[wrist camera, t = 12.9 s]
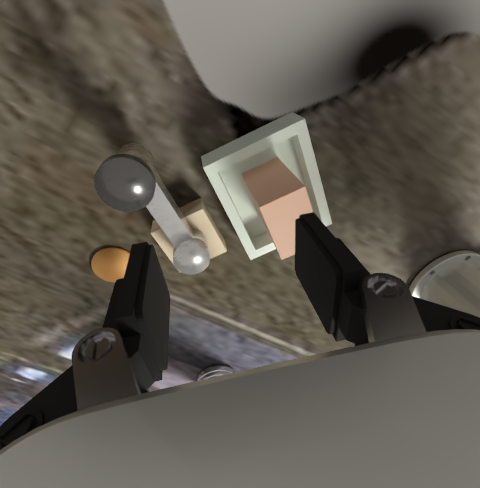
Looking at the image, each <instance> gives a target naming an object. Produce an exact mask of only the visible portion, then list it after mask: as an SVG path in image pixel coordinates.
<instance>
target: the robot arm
mask: <svg viewBox="0 0 480 488" xmlns="http://www.w3.org/2000/svg"><path fill="white" fill-rule="evenodd" d="M295 271H296V275H297V277H298V279H299V281H300V282H301V284H302V286H303V288H304V290H305V292H306V294H307V296H308V298H309V299H310V301H311V303H312V305H313V307H314V309H315V311H316V313H317V315H318V316H319V318H320V320H321V322H322V324H323V326H324V328H325V330H326V332H327V333H328V334H331V333H332V335H333V336H334V338H335V340H336V341H341V340H345V339H346V340H347V341H350V342H352V347H349V348H344V349H339V350H335V351H330V352H326V353H321V354H316V355H312V356H307V357H303V358H298V359H294V360H289V361H285V362H280V363H276V364H271V365H267V366H262V367H258V368H253V369H249V370H244V371H240V372H235V373H231V374H226V375H222V376H217V377H213V378H209V379H204V380H200V381H196V382H191V383H187V384H182V385H178V386H174V387H169V388H165V389H161V390H156V391H152V392H149V389H148V388H149V387H150V386H151V385H152V384H153V383H154V381H159V380H162V370H166V369H167V364H168V339H169V314H170V295H169V291H168V288H167V285H166V282H165V279H164V276H163V273H162V270H161V267H160V264H159V261H158V258H157V255H156V252H155V249H154V246H153V245H148V243H147V242H143V243H138V244H133V245H132V247H131V251H130V255H129V259H128V263H127V267H126V271H125V275H124V278H121V279H117V280H116V282H115V286H114V289H113V293H112V296H111V300H110V303H109V307H108V310H107V314H106V317H105V321H104V324H103V328H100V329H97V330H94V331H92V332H90V333H89V334H87V335H85V336H84V337H83V338H82V339H81V340H80V341H79V342H78V343H77V344H76V346H75V348H74V350H73V352H72V366H71V367H70V368H69V369H67V370H66V371H65V372H64V373H62V374H61V375H60V376H59V377H58V378H56V379H55V380H54V381H53V382H52V383H50V384H49V385H48V386H47V387H46V388H44V389H43V390H42V391H41V392H40V393H38V394H37V395H36V396H35V397H33V398H32V399H31V400H30V401H29V402H27V403H26V404H25V405H24V406H23V407H21V408H20V409H19V410H18V411H17V412H15V413H14V414H13V415H12V416H11V417H9V418H8V419H7V420H6V421H5V422H4V423H3V424H2V425H1V427H0V488H480V255H479V254H478V253H476V252H473V251H468V250H462V251H456V252H452V253H449V254H446V255H444V256H442V257H440V258H438V259H436V260H434V261H433V262H431V263H430V264H429V265H427V266H426V267H425V268H424V269H423V270H422V271H421V272H420V273H419V274H418V275H417V276H416V277H415V279H414V280H413V282H412V283H411V285H410V287H409V288H408V286H407V284H406V283H405V282H404V281H402V280H401V279H400V278H398V277H396V276H393V275H390V274H386V273H373V274H370V273H369V272H368V271H367V270H366V269H365V267H364V266H363V265H362V264H361V263H360V262H359V260H358V259H357V258H356V257H355V256H354V255H353V254H352V252H351V251H350V250H349V249H348V248H347V247H346V245H345V244H344V243H343V242H342V241H341V240H340V239H339V238H335V237H334V236H333V234H332V233H331V232H330V231H329V230H328V229H327V227H326V226H325V225H324V224H323V223H322V221H321V220H320V219H319V218H318V217H317V216H316V214H315V213H314V212H312V213H306V214H301V215H300V216H299V218H297V219H296V220H295Z"/></svg>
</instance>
